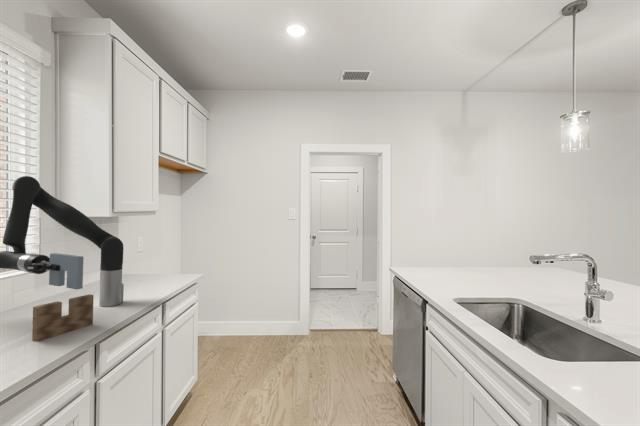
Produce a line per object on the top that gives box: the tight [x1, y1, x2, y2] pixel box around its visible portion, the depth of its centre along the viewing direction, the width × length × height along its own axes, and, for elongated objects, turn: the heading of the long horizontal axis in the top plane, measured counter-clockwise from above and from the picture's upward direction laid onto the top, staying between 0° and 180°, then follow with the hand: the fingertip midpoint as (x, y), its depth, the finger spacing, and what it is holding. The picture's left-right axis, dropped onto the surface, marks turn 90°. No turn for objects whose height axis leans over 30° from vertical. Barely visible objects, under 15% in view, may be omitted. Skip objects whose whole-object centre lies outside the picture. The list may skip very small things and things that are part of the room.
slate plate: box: [48, 252, 84, 290], centre depth 127 cm, size 2×16×12 cm, turn 69°
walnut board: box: [31, 293, 95, 342], centre depth 127 cm, size 20×2×12 cm, turn 159°
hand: (62, 267), depth 128 cm, fingers closed on slate plate, 2 cm apart
